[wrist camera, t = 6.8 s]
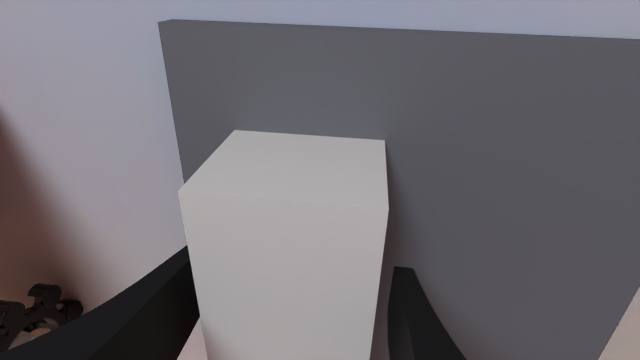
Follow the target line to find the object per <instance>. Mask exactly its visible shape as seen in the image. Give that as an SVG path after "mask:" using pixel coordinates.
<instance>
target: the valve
mask: <svg viewBox="0 0 640 360" xmlns="http://www.w3.org/2000/svg"><path fill="white" fill-rule="evenodd" d="M27 295H28V296H34V297H35V302H34V305H33V306H32V307H29V308H26V309H25V306H24V305H23V304H22V303H20V302H13V301H4V300H0V353H1V352H4V351H6V350H9V349H11V348H14V347H16V346H18V345H21V344H23V343H26V342H28V341H30V340H33V339H35V338H37V337H35V336H32V335H31V334H30V332H32V331H33V330H35V329H38V328H49V329H51V331H52V330H54V329H56V328H58V327H60V326H62V325H65V324H67V323H69V322H71V321H73V320H75V319H77V318H79V317H80V316H81V314H82V311H83V307H82V304H81V302H79V301H73V300H60V297H61V289H60V287H59V286H57V285H51V284H41V283H39V284H36V285H34V286H33V287H31V289H30V290H29V292H28V294H27ZM59 300H60V301H59ZM56 304H57V305H58V307H59V309H60V310H58V309H57V308H56Z"/></svg>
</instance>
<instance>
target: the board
mask: <svg viewBox="0 0 640 360" xmlns="http://www.w3.org/2000/svg"><path fill="white" fill-rule="evenodd" d="M158 26H159V32H160V39H161V45H162V51H163V57H164V63H165V69H166V75H167V81H168V87H169V93H170V99H171V105H172V112H173V118H174V124H175V130H176V136H177V142H178V148H179V154H180V160H181V166H182V172H183V178H184V184H185V183H186V182H187V181H188V180H189V179H190V177H191V176H192V175H193V174H194V173H195V172H196V171H197V170H198V169H199V168H200V167H201V166H202V164H203V163H204V162H205V161H206V160H207V159H208V158H209V157H210V156H211V155H212V154H213V153H214V152H215V150H216V149H217V148H218V147H219V146H220V145H221V144H222V143H223V142H224V141H225V140H226V139H227V137H228V136H229V135H230V134H231V133H232V132H233V131H234V130H242V131H257V132H271V133H286V134H300V135H315V136H329V137H344V138H358V139H373V140H385V153H386V170H387V187H388V204H389V212H388V220H387V228H386V235H385V243H384V251H383V259H382V266H381V274H380V282H379V290H378V297H377V305H376V313H375V321H374V328H373V336H372V344H371V352H370V360H390V358H389V348H388V339H387V309H388V302H389V296H390V289H391V283H392V276H393V270H394V266H398V267H408V268H413V269H414V271H415V273H416V275H417V277H418V280H419V282H420V284H421V286H422V288H423V290H424V292H425V294H426V296H427V298H428V300H429V302H430V304H431V306H432V307H433V309H434V311H435V312H436V314H437V316H438V318H439V319H440V321H441V323H442V324H443V326H444V327H445V329H446V331H447V332H448V334H449V335H450V337H451V338H452V340H453V341H454V343H455V344H456V345H457V347H458V348H459V350H460V351H461V353H462V354H463V355H464V357H465V358H466V359H467V360H598V359H599V357H600V355H601V353H602V352H603V350H604V348H605V346H606V345H607V343H608V341H609V339H610V338H611V336H612V334H613V332H614V331H615V329H616V327H617V325H618V324H619V322H620V320H621V318H622V317H623V315H624V313H625V311H626V310H627V308H628V306H629V304H630V303H631V301H632V299H633V297H634V296H635V294H636V292H637V290H638V289H639V287H640V39H619V38H595V37H572V36H549V35H525V34H502V33H479V32H455V31H432V30H409V29H385V28H362V27H339V26H316V25H292V24H269V23H246V22H222V21H199V20H176V19H172V20H167V21H162V22H158Z"/></svg>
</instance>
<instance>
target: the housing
mask: <svg viewBox="0 0 640 360" xmlns="http://www.w3.org/2000/svg"><path fill="white" fill-rule="evenodd" d="M178 195H179V201H180V207H181V212H182V218H183V223H184V229H185V234H186V240H187V245H188V251H189V257H190V262H191V268H192V273H193V279H194V284H195V290H196V296H197V301H198V307H199V312H200V318H201V323H202V329H203V335H204V340H205V346H206V351H207V357H208V360H370V352H371V344H372V336H373V328H374V321H375V313H376V305H377V297H378V290H379V282H380V274H381V266H382V259H383V251H384V243H385V235H386V228H387V220H388V212H389V204H388V187H387V170H386V153H385V140H373V139H358V138H344V137H329V136H315V135H300V134H286V133H271V132H257V131H242V130H234V131H233V132H232V133H231V134H230V135H229V136H228V137H227V139H226V140H225V141H224V142H223V143H222V144H221V145H220V146H219V147H218V148H217V149H216V150H215V152H214V153H213V154H212V155H211V156H210V157H209V158H208V159H207V160H206V161H205V162H204V163H203V164H202V166H201V167H200V168H199V169H198V170H197V171H196V172H195V173H194V174H193V175H192V176H191V177H190V179H189V180H188V181H187V182H186V183H185V184H184V185H183V186H182V187H181V188H180V189H179V190H178Z"/></svg>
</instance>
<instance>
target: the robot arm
mask: <svg viewBox="0 0 640 360" xmlns="http://www.w3.org/2000/svg"><path fill="white" fill-rule="evenodd" d="M199 317H200V312H199V307H198V301H197V296H196V290H195V284H194V279H193V273H192V268H191V262H190V257H189V251H188V245H187V246H185V247H184V248H183V249H181V250H180V251H178V252H177V253H176V254H174V255H173V256H172V257H170V258H169V259H168V260H166V261H165V262H164V263H162V264H161V265H160V266H158V267H157V268H156V269H154V270H153V271H151V272H150V273H149V274H147V275H146V276H145V277H143V278H142V279H140V280H139V281H137V282H136V283H134V284H133V285H131V286H130V287H128V288H127V289H125V290H124V291H122V292H121V293H119V294H118V295H116V296H115V297H113V298H112V299H110V300H108V301H107V302H105V303H103V304H102V305H100V306H98V307H97V308H95V309H93V310H91V311H89V312H88V313H86V314H84V315H82V316H80V317H79V318H77V319H75V320H73V321H71V322H69V323H67V324H65V325H62V326H60V327H58V328H56V329H54V330H52V331H50V332H48V333H46V334H44V335H42V336H40V337H37V338H35V339H33V340H30V341H28V342H26V343H23V344H21V345H18V346H16V347H14V348H11V349H9V350H6V351H4V352H1V353H0V360H177V358H178V356H179V354H180V353H181V351H182V349H183V347H184V345H185V343H186V341H187V340H188V338H189V336H190V334H191V332H192V330H193V328H194V327H195V325H196V323H197V321H198V319H199ZM387 339H388V348H389V358H390V360H467V359H466V358H465V357H464V355H463V354H462V353H461V351H460V350H459V348H458V347H457V345H456V344H455V343H454V341H453V340H452V338H451V337H450V335H449V334H448V332H447V331H446V329H445V327H444V326H443V324H442V323H441V321H440V319H439V318H438V316H437V314H436V312H435V311H434V309H433V307H432V306H431V304H430V302H429V300H428V298H427V296H426V294H425V292H424V290H423V288H422V286H421V284H420V282H419V280H418V277H417V275H416V273H415V271H414V269H413V268H408V267H398V266H394V270H393V276H392V283H391V289H390V296H389V302H388V309H387Z"/></svg>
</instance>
